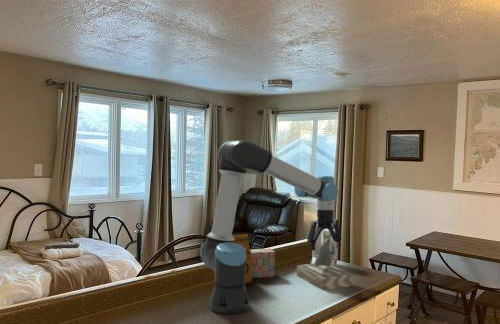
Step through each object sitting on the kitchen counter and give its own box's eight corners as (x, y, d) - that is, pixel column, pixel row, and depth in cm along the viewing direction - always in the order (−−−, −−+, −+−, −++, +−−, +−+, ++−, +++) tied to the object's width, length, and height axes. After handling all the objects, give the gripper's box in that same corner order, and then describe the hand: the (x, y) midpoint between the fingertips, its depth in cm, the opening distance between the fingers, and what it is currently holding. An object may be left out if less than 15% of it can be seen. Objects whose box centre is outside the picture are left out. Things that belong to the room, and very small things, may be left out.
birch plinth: (322, 290, 175) (323, 278, 175) (296, 275, 195) (296, 265, 195) (352, 285, 182) (352, 274, 182) (323, 272, 202) (324, 262, 202)
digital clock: (319, 258, 198) (319, 236, 198) (337, 260, 194) (337, 238, 193) (307, 265, 184) (308, 242, 183) (326, 268, 179) (327, 245, 179)
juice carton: (338, 264, 218) (339, 229, 218) (332, 267, 211) (333, 231, 211) (325, 261, 222) (326, 227, 222) (319, 265, 215) (320, 229, 215)
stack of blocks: (231, 279, 187) (232, 253, 187) (228, 275, 193) (228, 250, 193) (274, 276, 193) (275, 251, 193) (270, 273, 199) (270, 248, 199)
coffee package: (255, 283, 182) (256, 235, 182) (232, 288, 175) (234, 238, 174) (242, 277, 190) (243, 231, 190) (220, 282, 183) (221, 234, 182)
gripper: (309, 211, 180) (307, 260, 180) (350, 209, 189) (349, 255, 190) (300, 208, 187) (299, 256, 187) (340, 207, 196) (339, 252, 197)
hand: (324, 256), depth 189 cm, fingers closed on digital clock, 10 cm apart
